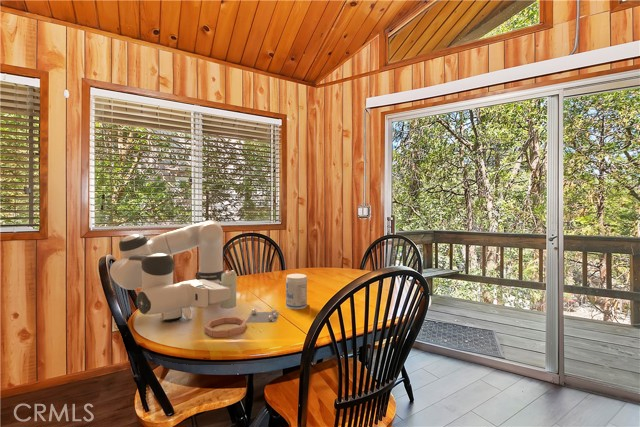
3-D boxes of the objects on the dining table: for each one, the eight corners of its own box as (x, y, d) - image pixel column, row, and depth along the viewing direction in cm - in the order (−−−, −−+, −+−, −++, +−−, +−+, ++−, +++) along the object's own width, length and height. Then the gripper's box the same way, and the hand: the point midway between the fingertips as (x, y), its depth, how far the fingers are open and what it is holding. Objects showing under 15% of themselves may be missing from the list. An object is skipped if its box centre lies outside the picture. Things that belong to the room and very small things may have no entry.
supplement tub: (281, 308, 145) (281, 275, 145) (296, 303, 153) (296, 272, 152) (296, 312, 139) (296, 279, 139) (311, 307, 146) (311, 275, 146)
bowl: (200, 339, 112) (200, 331, 112) (212, 323, 126) (212, 316, 126) (241, 338, 112) (240, 330, 112) (249, 323, 127) (248, 316, 126)
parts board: (245, 324, 125) (245, 317, 125) (251, 314, 137) (251, 307, 137) (276, 324, 126) (276, 316, 126) (279, 313, 138) (279, 306, 138)
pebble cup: (219, 308, 117) (219, 272, 116) (223, 303, 123) (223, 268, 122) (234, 308, 118) (235, 272, 117) (237, 303, 123) (238, 269, 122)
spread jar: (159, 317, 133) (159, 289, 133) (188, 312, 140) (188, 285, 139) (164, 326, 123) (163, 296, 123) (194, 320, 130) (194, 292, 129)
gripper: (179, 295, 117) (214, 288, 127) (205, 308, 103) (243, 299, 113) (179, 278, 117) (214, 273, 127) (205, 289, 102) (243, 281, 112)
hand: (228, 285), depth 119 cm, fingers closed on pebble cup, 5 cm apart
